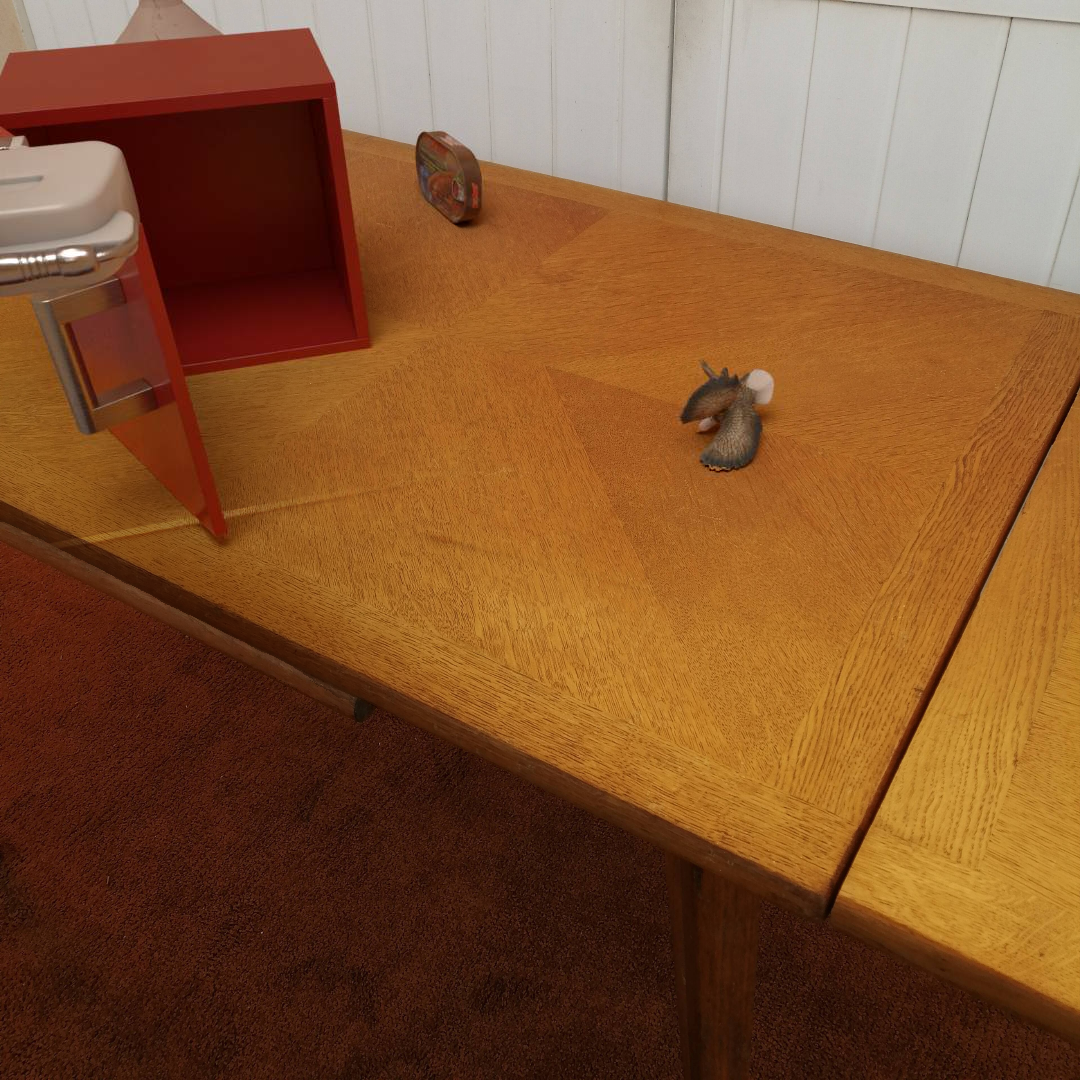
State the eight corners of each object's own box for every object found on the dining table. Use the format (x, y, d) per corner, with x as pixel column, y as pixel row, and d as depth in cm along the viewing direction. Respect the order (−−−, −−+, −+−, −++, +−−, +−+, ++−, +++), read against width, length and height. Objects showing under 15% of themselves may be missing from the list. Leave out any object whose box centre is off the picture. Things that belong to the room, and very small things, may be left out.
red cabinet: (371, 348, 97) (335, 81, 81) (83, 393, 91) (-17, 115, 75) (345, 270, 110) (309, 27, 94) (92, 304, 104) (8, 52, 88)
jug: (139, 148, 140) (72, -104, 121) (269, 139, 142) (224, -110, 123) (121, 201, 125) (41, -76, 106) (266, 190, 128) (214, -84, 108)
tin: (415, 191, 127) (409, 122, 121) (438, 186, 128) (433, 118, 123) (464, 234, 117) (459, 161, 111) (488, 229, 118) (485, 156, 112)
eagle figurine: (671, 393, 88) (655, 432, 80) (724, 331, 84) (713, 367, 76) (738, 446, 88) (728, 490, 81) (793, 388, 85) (789, 428, 77)
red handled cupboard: (147, 570, 72) (35, 254, 57) (16, 420, 87) (-102, 138, 72) (228, 532, 75) (142, 223, 60) (87, 393, 91) (-10, 118, 75)
